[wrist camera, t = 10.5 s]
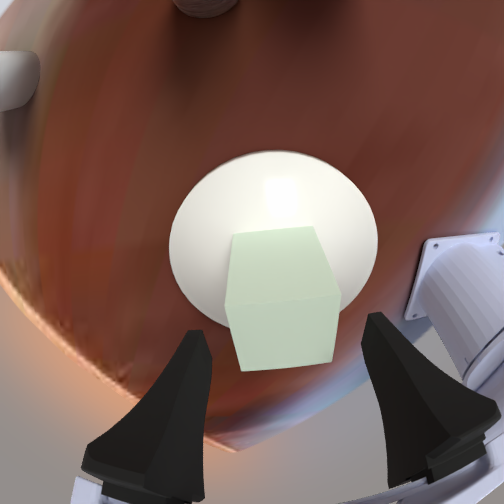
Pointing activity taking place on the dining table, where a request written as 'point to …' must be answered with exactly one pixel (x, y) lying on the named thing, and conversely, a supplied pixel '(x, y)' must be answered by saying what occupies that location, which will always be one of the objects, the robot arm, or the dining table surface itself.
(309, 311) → the sage block
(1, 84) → the white rounded domed part
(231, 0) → the salt shaker
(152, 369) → the dining table surface
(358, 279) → the plate
